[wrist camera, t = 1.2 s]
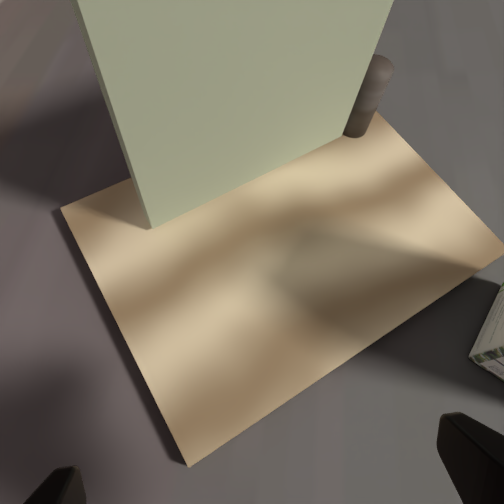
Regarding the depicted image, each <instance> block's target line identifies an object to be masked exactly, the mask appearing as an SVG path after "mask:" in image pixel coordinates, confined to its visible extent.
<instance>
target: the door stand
mask: <svg viewBox="0 0 504 504" xmlns="http://www.w3.org/2000/svg"><path fill="white" fill-rule="evenodd" d="M393 72H394V66H393V64H392V63H391V61H390V60H388V59H387V58H385V57H383V56H380V55H375V54H373V56H372V58H371V61H370V63H369V66H368V69H367V71H366V74H365V76H364V79H363V82H362V84H361V87H360V89H359V92H358V95H357V97H356V100H355V102H354V105H353V108H352V110H351V113H350V115H349V118H348V121H347V123H346V126H345V128H344V131H343V134H342V136H341V137H339V138H337V139H335V140H333V141H331V142H329V143H327V144H325V145H323V146H321V147H318V148H316V149H314V150H312V151H310V152H308V153H306V154H304V155H302V156H300V157H298V158H296V159H294V160H292V161H290V162H288V163H286V164H284V165H282V166H280V167H278V168H276V169H274V170H272V171H270V172H268V173H266V174H264V175H262V176H259V177H257V178H255V179H253V180H251V181H249V182H247V183H245V184H243V185H241V186H239V187H237V188H235V189H233V190H231V191H229V192H227V193H225V194H223V195H221V196H219V197H217V198H215V199H213V200H211V201H209V202H207V203H205V204H203V205H201V206H198V207H196V208H194V209H192V210H190V211H188V212H186V213H184V214H182V215H180V216H178V217H176V218H174V219H172V220H170V221H168V222H166V223H164V224H162V225H160V226H158V227H156V228H154V229H152V227H151V226H150V224H149V222H148V221H147V219H146V217H145V215H144V212H143V210H142V207H141V204H140V201H139V198H138V195H137V192H136V189H135V186H134V184H133V181H132V178H129V179H126V180H124V181H122V182H119V183H117V184H115V185H112V186H110V187H108V188H105V189H103V190H101V191H98V192H96V193H94V194H91V195H89V196H87V197H85V198H82V199H80V200H78V201H75V202H73V203H71V204H68V205H66V206H64V207H61V208H60V209H61V211H62V213H63V215H64V217H65V219H66V221H67V223H68V225H69V227H70V229H71V231H72V233H73V235H74V237H75V239H76V241H77V243H78V245H79V247H80V249H81V251H82V253H83V255H84V257H85V259H86V262H87V264H88V266H89V268H90V270H91V272H92V274H93V276H94V278H95V280H96V282H97V284H98V286H99V288H100V290H101V292H102V294H103V296H104V298H105V300H106V302H107V304H108V306H109V308H110V310H111V312H112V314H113V316H114V318H115V320H116V322H117V324H118V326H119V328H120V330H121V332H122V334H123V336H124V338H125V340H126V342H127V344H128V346H129V348H130V350H131V353H132V355H133V357H134V359H135V361H136V363H137V365H138V367H139V369H140V371H141V373H142V375H143V377H144V379H145V381H146V383H147V385H148V387H149V389H150V391H151V393H152V395H153V397H154V399H155V401H156V403H157V405H158V407H159V409H160V411H161V413H162V415H163V417H164V419H165V421H166V423H167V425H168V427H169V429H170V431H171V433H172V435H173V437H174V439H175V441H176V444H177V446H178V448H179V450H180V452H181V454H182V456H183V458H184V460H185V462H186V464H187V466H188V468H189V467H191V466H192V465H194V464H195V463H197V462H198V461H200V460H201V459H203V458H204V457H205V456H207V455H208V454H210V453H211V452H213V451H214V450H216V449H217V448H219V447H220V446H222V445H223V444H225V443H226V442H228V441H229V440H231V439H232V438H233V437H235V436H236V435H238V434H239V433H241V432H242V431H244V430H245V429H247V428H248V427H250V426H251V425H253V424H254V423H256V422H257V421H259V420H260V419H261V418H263V417H264V416H266V415H267V414H269V413H270V412H272V411H273V410H275V409H276V408H278V407H279V406H281V405H282V404H284V403H285V402H287V401H288V400H289V399H291V398H292V397H294V396H295V395H297V394H298V393H300V392H301V391H303V390H304V389H306V388H307V387H309V386H310V385H312V384H313V383H315V382H316V381H317V380H319V379H320V378H322V377H323V376H325V375H326V374H328V373H329V372H331V371H332V370H334V369H335V368H337V367H338V366H340V365H341V364H343V363H344V362H345V361H347V360H348V359H350V358H351V357H353V356H354V355H356V354H357V353H359V352H360V351H362V350H363V349H365V348H366V347H368V346H369V345H371V344H372V343H373V342H375V341H376V340H378V339H379V338H381V337H382V336H384V335H385V334H387V333H388V332H390V331H391V330H393V329H394V328H396V327H397V326H399V325H400V324H401V323H403V322H404V321H406V320H407V319H409V318H410V317H412V316H413V315H415V314H416V313H418V312H419V311H421V310H422V309H424V308H425V307H427V306H428V305H429V304H431V303H432V302H434V301H435V300H437V299H438V298H440V297H441V296H443V295H444V294H446V293H447V292H449V291H450V290H452V289H453V288H455V287H456V286H457V285H459V284H460V283H462V282H463V281H465V280H466V279H468V278H469V277H471V276H472V275H474V274H475V273H477V272H478V271H480V270H481V269H483V268H484V267H485V266H487V265H488V264H490V263H491V262H493V261H494V260H496V259H497V258H499V257H500V256H502V255H503V254H504V244H503V243H502V242H501V241H500V240H499V239H498V238H497V237H496V236H495V235H494V233H493V232H492V231H491V230H490V229H489V228H488V227H487V226H486V225H485V224H484V223H483V222H482V221H481V220H480V219H479V218H478V217H477V216H476V215H475V214H474V213H473V212H472V211H471V209H470V208H469V207H468V206H467V205H466V204H465V203H464V202H463V201H462V200H461V199H460V198H459V197H458V196H457V195H456V194H455V193H454V192H453V191H452V190H451V189H450V188H449V186H448V185H447V184H446V183H445V182H444V181H443V180H442V179H441V178H440V177H439V176H438V175H437V174H436V173H435V172H434V171H433V170H432V169H431V168H430V167H429V166H428V165H427V163H426V162H425V161H424V160H423V159H422V158H421V157H420V156H419V155H418V154H417V153H416V152H415V151H414V150H413V149H412V148H411V147H410V146H409V145H408V144H407V143H406V142H405V141H404V139H403V138H402V137H401V136H400V135H399V134H398V133H397V132H396V131H395V130H394V129H393V128H392V127H391V126H390V125H389V124H388V123H387V122H386V121H385V120H384V119H383V118H382V116H381V115H380V114H379V113H378V112H377V111H376V109H377V107H378V104H379V102H380V100H381V98H382V96H383V94H384V91H385V89H386V87H387V85H388V83H389V80H390V78H391V76H392V74H393Z"/></svg>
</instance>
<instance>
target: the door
mask: <svg viewBox="0 0 504 504" xmlns="http://www.w3.org/2000/svg"><path fill="white" fill-rule="evenodd" d="M70 1H71V4H72V7H73V10H74V13H75V15H76V18H77V21H78V24H79V27H80V30H81V33H82V36H83V39H84V41H85V44H86V47H87V50H88V53H89V56H90V59H91V62H92V65H93V68H94V70H95V73H96V76H97V79H98V82H99V85H100V88H101V91H102V94H103V97H104V99H105V102H106V105H107V108H108V111H109V114H110V117H111V120H112V123H113V126H114V128H115V131H116V134H117V137H118V140H119V143H120V146H121V149H122V152H123V155H124V157H125V160H126V163H127V166H128V169H129V172H130V175H131V178H132V181H133V184H134V186H135V189H136V192H137V195H138V198H139V201H140V204H141V207H142V210H143V212H144V215H145V217H146V219H147V221H148V222H149V224H150V226H151V227H152V229H154V228H156V227H158V226H160V225H162V224H164V223H166V222H168V221H170V220H172V219H174V218H176V217H178V216H180V215H182V214H184V213H186V212H188V211H190V210H192V209H194V208H196V207H198V206H201V205H203V204H205V203H207V202H209V201H211V200H213V199H215V198H217V197H219V196H221V195H223V194H225V193H227V192H229V191H231V190H233V189H235V188H237V187H239V186H241V185H243V184H245V183H247V182H249V181H251V180H253V179H255V178H257V177H259V176H262V175H264V174H266V173H268V172H270V171H272V170H274V169H276V168H278V167H280V166H282V165H284V164H286V163H288V162H290V161H292V160H294V159H296V158H298V157H300V156H302V155H304V154H306V153H308V152H310V151H312V150H314V149H316V148H318V147H321V146H323V145H325V144H327V143H329V142H331V141H333V140H335V139H337V138H339V137H341V136H342V134H343V131H344V128H345V126H346V123H347V121H348V118H349V115H350V113H351V110H352V108H353V105H354V102H355V100H356V97H357V95H358V92H359V89H360V87H361V84H362V82H363V79H364V76H365V74H366V71H367V69H368V66H369V63H370V61H371V58H372V56H373V53H374V50H375V48H376V45H377V43H378V40H379V37H380V35H381V32H382V30H383V27H384V24H385V22H386V19H387V17H388V14H389V11H390V9H391V6H392V4H393V1H394V0H70Z"/></svg>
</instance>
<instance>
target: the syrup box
mask: <svg viewBox="0 0 504 504" xmlns="http://www.w3.org/2000/svg"><path fill="white" fill-rule="evenodd" d="M469 359H471V360H472V361H473V362H475V363H476V364H478V365H479V366H481V367H482V368H483V369H485V370H487V371H488V372H490V373H491V374H493V375H494V376H496V377H498V378H499V379H500V380H502V381H503V382H504V283H503V284H502V286H501V288H500V290H499V292H498V294H497V297H496V299H495V301H494V303H493V305H492V307H491V309H490V311H489V313H488V315H487V318H486V320H485V322H484V324H483V326H482V328H481V330H480V333H479V335H478V337H477V339H476V342H475V344H474V346H473V348H472V350H471V352H470V354H469Z"/></svg>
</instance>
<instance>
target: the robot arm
mask: <svg viewBox="0 0 504 504" xmlns="http://www.w3.org/2000/svg"><path fill="white" fill-rule="evenodd" d="M437 450H438V453H439V455H440V458H441V460H442V462H443V464H444V466H445V468H446V470H447V472H448V474H449V476H450V478H451V480H452V482H453V484H454V486H455V488H456V490H457V492H458V494H459V496H460V498H461V500H462V502H463V504H504V435H502V434H500V433H498V432H496V431H494V430H493V429H491V428H489V427H487V426H485V425H484V424H482V423H480V422H478V421H476V420H474V419H473V418H471V417H469V416H467V415H465V414H463V413H461V412H454V413H447V414H443V415H442V416H441V417H440V422H439V429H438V436H437ZM23 504H86V494H85V489H84V485H83V481H82V477H81V473H80V470H79V468H78V467H77V466H68V467H61V468H57V469H55V470H54V471H53V472H52V473H51V474H50V475H49V476H48V477H47V478H46V479H45V480H44V482H43V483H42V484H41V485H40V486H39V487H38V488H37V489H36V490H35V491H34V492H33V494H32V495H31V496H30V497H29V498H28V499H27V500H26V501H25V502H24V503H23Z"/></svg>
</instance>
